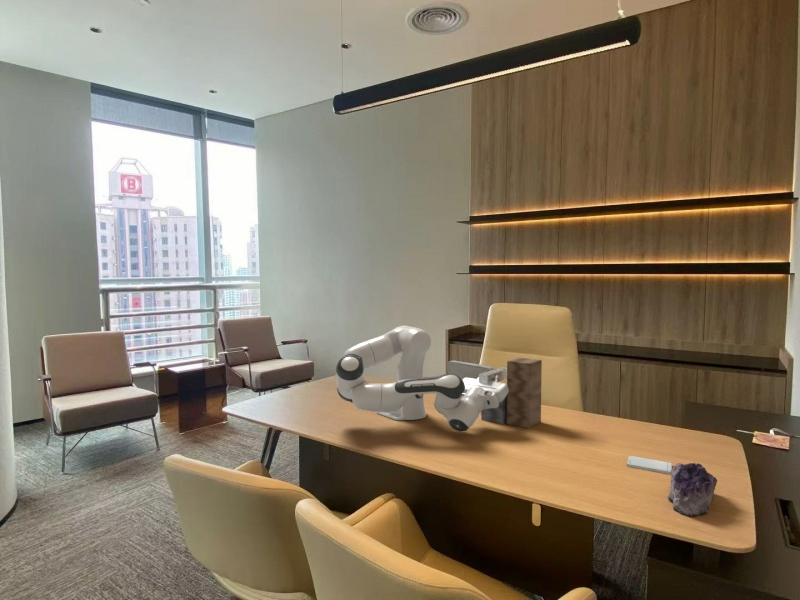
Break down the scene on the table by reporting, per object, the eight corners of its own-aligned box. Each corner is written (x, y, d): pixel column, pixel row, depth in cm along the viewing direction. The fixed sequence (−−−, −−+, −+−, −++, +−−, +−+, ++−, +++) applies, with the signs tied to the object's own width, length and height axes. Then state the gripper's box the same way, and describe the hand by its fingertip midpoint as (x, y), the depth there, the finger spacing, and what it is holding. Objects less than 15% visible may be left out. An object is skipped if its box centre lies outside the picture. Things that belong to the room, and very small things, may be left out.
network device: (443, 402, 229) (443, 361, 228) (455, 399, 235) (455, 359, 234) (485, 413, 210) (486, 368, 209) (497, 409, 216) (498, 366, 215)
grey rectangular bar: (478, 383, 193) (478, 374, 192) (504, 375, 210) (504, 366, 209) (487, 385, 190) (487, 375, 190) (512, 376, 207) (512, 367, 207)
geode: (720, 525, 115) (714, 484, 115) (665, 518, 122) (660, 479, 122) (720, 491, 132) (715, 455, 132) (672, 486, 138) (668, 452, 138)
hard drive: (626, 463, 150) (671, 471, 144) (628, 454, 158) (671, 461, 151) (626, 468, 151) (671, 476, 144) (628, 459, 158) (671, 467, 152)
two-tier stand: (481, 419, 201) (481, 358, 200) (495, 413, 211) (495, 355, 210) (528, 429, 188) (528, 364, 187) (540, 422, 197) (541, 360, 196)
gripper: (456, 399, 195) (471, 378, 204) (501, 408, 182) (515, 385, 191) (452, 388, 193) (467, 366, 202) (497, 396, 180) (512, 373, 189)
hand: (491, 375), depth 196 cm, fingers closed on grey rectangular bar, 4 cm apart
